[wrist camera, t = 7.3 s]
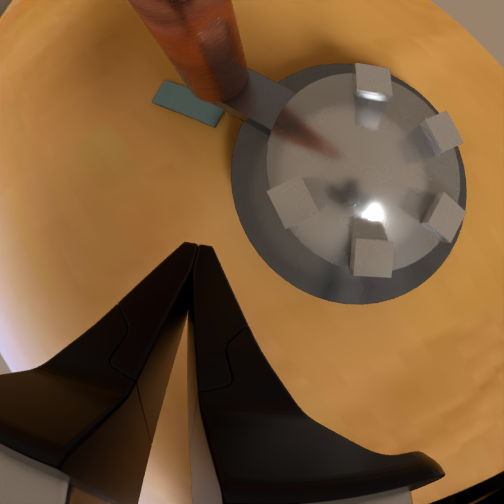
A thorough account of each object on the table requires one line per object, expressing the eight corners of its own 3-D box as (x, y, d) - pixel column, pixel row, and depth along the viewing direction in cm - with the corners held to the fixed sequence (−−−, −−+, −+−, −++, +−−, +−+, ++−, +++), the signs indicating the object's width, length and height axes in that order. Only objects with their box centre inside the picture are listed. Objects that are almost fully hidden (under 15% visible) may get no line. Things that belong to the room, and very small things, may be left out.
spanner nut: (466, 160, 15) (612, 102, 3) (387, 304, 16) (531, 405, 4) (248, 23, 15) (216, -128, 4) (150, 147, 16) (-1, 53, 5)
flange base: (370, 340, 18) (379, 351, 16) (115, 147, 19) (100, 139, 17) (479, 171, 17) (495, 166, 15) (239, 5, 18) (236, -11, 16)
